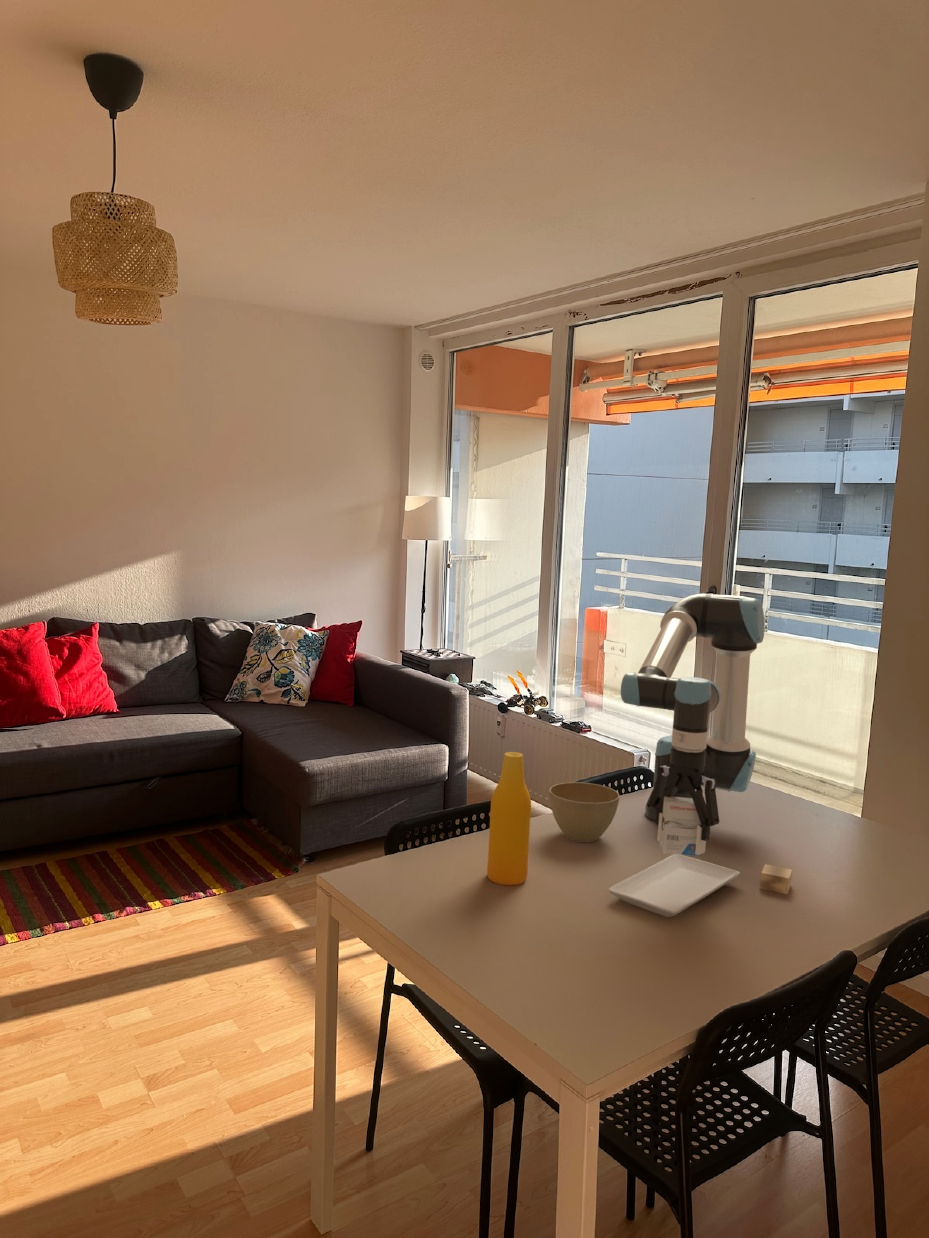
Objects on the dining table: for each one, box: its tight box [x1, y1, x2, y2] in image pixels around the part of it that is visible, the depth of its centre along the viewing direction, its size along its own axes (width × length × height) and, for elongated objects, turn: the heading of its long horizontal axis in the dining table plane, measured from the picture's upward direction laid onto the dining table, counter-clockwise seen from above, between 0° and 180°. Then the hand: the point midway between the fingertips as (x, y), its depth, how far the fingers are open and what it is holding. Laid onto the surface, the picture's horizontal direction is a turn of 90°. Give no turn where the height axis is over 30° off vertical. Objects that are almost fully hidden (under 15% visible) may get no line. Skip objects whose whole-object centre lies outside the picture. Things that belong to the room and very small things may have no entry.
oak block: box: [760, 863, 793, 895], centre depth 205 cm, size 6×6×4 cm
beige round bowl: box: [549, 781, 620, 843], centre depth 232 cm, size 18×18×12 cm
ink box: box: [659, 796, 702, 857], centre depth 198 cm, size 8×5×12 cm, turn 84°
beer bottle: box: [486, 751, 532, 886], centre depth 202 cm, size 9×9×29 cm
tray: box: [608, 854, 741, 918], centre depth 200 cm, size 17×31×4 cm, turn 138°
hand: (680, 846), depth 198 cm, fingers closed on ink box, 9 cm apart
